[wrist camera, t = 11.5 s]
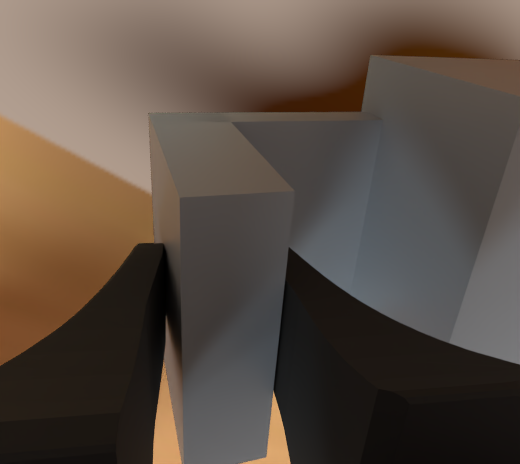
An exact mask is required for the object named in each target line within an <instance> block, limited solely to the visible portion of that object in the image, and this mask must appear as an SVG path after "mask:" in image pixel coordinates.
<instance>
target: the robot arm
mask: <svg viewBox="0 0 520 464" xmlns="http://www.w3.org/2000/svg"><path fill="white" fill-rule="evenodd" d="M165 345H166V298H165V270H164V244H163V243H139V244H138V245H137V246H135V247H134V249H133V250H132V252H131V253H130V254H129V256H128V257H127V259H126V260H125V261H124V263H123V264H122V265H121V266H120V268H119V269H118V270H117V271H116V273H115V274H114V275H113V276H112V277H111V279H110V280H109V281H108V282H107V283H106V284H105V286H104V287H103V288H102V289H101V290H100V291H99V292H98V293H97V294H96V295H95V296H94V297H93V298H92V299H91V300H90V301H89V302H88V303H87V304H86V305H85V306H84V307H83V308H82V309H81V310H80V311H79V312H78V313H76V314H75V315H74V316H73V317H72V318H71V319H69V320H68V321H67V322H66V323H65V324H63V325H62V326H61V327H59V328H58V329H57V330H55V331H54V332H53V333H51V334H50V335H48V336H47V337H45V338H44V339H42V340H41V341H39V342H38V343H36V344H35V345H33V346H32V347H31V348H29V349H28V350H26V351H25V352H23V353H21V354H20V355H18V356H16V357H15V358H13V359H11V360H10V361H8V362H6V363H4V364H3V365H1V366H0V464H153V440H154V429H155V419H156V412H157V404H158V397H159V390H160V382H161V375H162V368H163V360H164V353H165ZM273 390H274V393H275V397H276V400H277V403H278V407H279V410H280V414H281V418H282V422H283V426H284V430H285V435H286V441H287V446H288V451H289V457H290V462H291V464H520V364H516V363H513V362H509V361H505V360H502V359H498V358H495V357H491V356H488V355H484V354H481V353H477V352H474V351H470V350H467V349H464V348H462V347H459V346H456V345H453V344H450V343H448V342H445V341H442V340H439V339H437V338H434V337H432V336H429V335H427V334H424V333H422V332H420V331H417V330H415V329H413V328H411V327H409V326H406V325H404V324H402V323H400V322H398V321H396V320H394V319H392V318H390V317H388V316H386V315H384V314H382V313H380V312H378V311H377V310H375V309H373V308H371V307H370V306H368V305H366V304H364V303H363V302H361V301H359V300H358V299H356V298H355V297H353V296H351V295H350V294H349V293H347V292H346V291H344V290H343V289H341V288H340V287H338V286H337V285H336V284H334V283H333V282H331V281H330V280H329V279H327V278H326V277H325V276H324V275H322V274H321V273H320V272H318V271H317V270H316V269H315V268H313V267H312V266H311V265H310V264H309V263H307V262H306V261H305V260H304V259H303V258H301V257H300V256H299V255H298V254H297V253H296V252H294V251H293V250H292V249H291V248H290V247H289V248H288V258H287V267H286V276H285V286H284V295H283V304H282V314H281V323H280V333H279V342H278V351H277V361H276V370H275V379H274V389H273Z"/></svg>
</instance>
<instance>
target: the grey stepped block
mask: <svg viewBox="0 0 520 464" xmlns="http://www.w3.org/2000/svg"><path fill="white" fill-rule="evenodd" d="M148 114H149V137H150V158H151V180H152V203H153V226H154V243H163V244H164V270H165V298H166V345H165V353H164V362H165V368H166V373H167V379H168V385H169V391H170V397H171V403H172V409H173V415H174V420H175V426H176V432H177V438H178V444H179V450H180V456H181V461H182V464H239V463H243V462H247V461H252V460H256V459H260V458H265V457H266V454H267V445H268V435H269V426H270V417H271V407H272V398H273V389H274V379H275V370H276V361H277V351H278V342H279V333H280V323H281V314H282V304H283V295H284V286H285V276H286V267H287V258H288V248H289V247H290V248H291V249H292V250H293V251H294V252H296V253H297V254H298V255H299V256H300V257H301V258H303V259H304V260H305V261H306V262H307V263H309V264H310V265H311V266H312V267H313V268H315V269H316V270H317V271H318V272H320V273H321V274H322V275H324V276H325V277H326V278H327V279H329V280H330V281H331V282H333V283H334V284H336V285H337V286H338V287H340V288H341V289H343V290H344V291H346V292H347V293H349V294H350V295H351V296H353V297H355V298H356V299H358V300H359V301H361V302H363V303H364V304H366V305H368V306H370V307H371V308H373V309H375V310H377V311H378V312H380V313H382V314H384V315H386V316H388V317H390V318H392V319H394V320H396V321H398V322H400V323H402V324H404V325H406V326H409V327H411V328H413V329H415V330H417V331H420V332H422V333H424V334H427V335H429V336H432V337H434V338H437V339H439V340H442V341H445V342H448V343H450V344H453V345H456V346H459V347H462V348H464V349H467V350H470V351H474V352H477V353H481V354H484V355H488V356H491V357H495V358H498V359H502V360H505V361H509V362H513V363H516V364H520V60H503V59H473V58H472V59H471V58H444V57H415V56H387V55H370V61H369V67H368V73H367V79H366V85H365V92H364V98H363V103H362V110H361V112H244V113H243V112H239V113H238V112H231V113H148Z"/></svg>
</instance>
